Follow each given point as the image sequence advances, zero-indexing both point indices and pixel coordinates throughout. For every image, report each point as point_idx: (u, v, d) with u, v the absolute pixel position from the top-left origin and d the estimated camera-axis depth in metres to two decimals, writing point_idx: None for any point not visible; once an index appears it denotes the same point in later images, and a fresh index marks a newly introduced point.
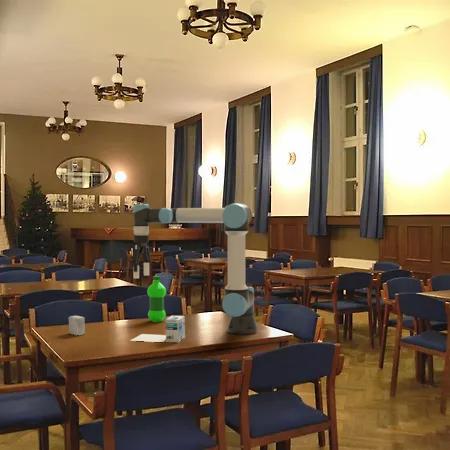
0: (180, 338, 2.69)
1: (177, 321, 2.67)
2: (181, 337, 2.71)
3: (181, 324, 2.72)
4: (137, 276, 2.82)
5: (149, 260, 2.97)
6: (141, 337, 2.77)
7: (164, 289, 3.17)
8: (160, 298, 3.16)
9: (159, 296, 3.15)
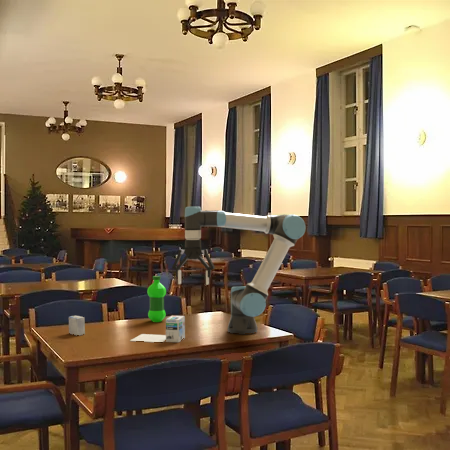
0: (180, 338, 2.69)
1: (177, 321, 2.67)
2: (181, 337, 2.71)
3: (181, 324, 2.72)
4: None
5: (209, 268, 2.68)
6: (141, 337, 2.77)
7: (164, 289, 3.17)
8: (160, 298, 3.16)
9: (159, 296, 3.15)
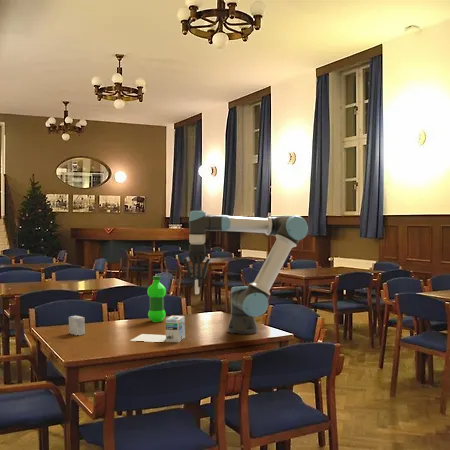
0: (180, 338, 2.69)
1: (177, 321, 2.67)
2: (181, 337, 2.71)
3: (181, 324, 2.72)
4: None
5: (200, 278, 2.68)
6: (141, 337, 2.77)
7: (164, 289, 3.17)
8: (160, 298, 3.16)
9: (159, 296, 3.15)
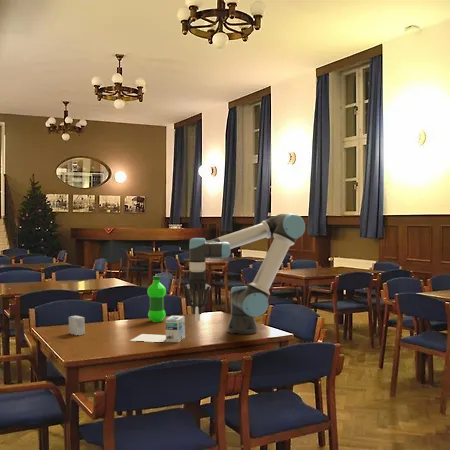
0: (180, 338, 2.69)
1: (177, 321, 2.67)
2: (181, 337, 2.71)
3: (181, 324, 2.72)
4: None
5: (200, 306, 2.68)
6: (141, 337, 2.77)
7: (164, 289, 3.17)
8: (160, 298, 3.16)
9: (159, 296, 3.15)
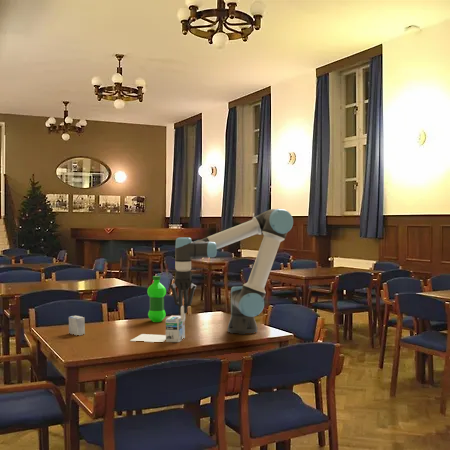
0: (180, 338, 2.69)
1: (177, 321, 2.67)
2: (181, 337, 2.71)
3: (181, 324, 2.72)
4: None
5: (186, 305, 2.70)
6: (141, 337, 2.77)
7: (164, 289, 3.17)
8: (160, 298, 3.16)
9: (159, 296, 3.15)
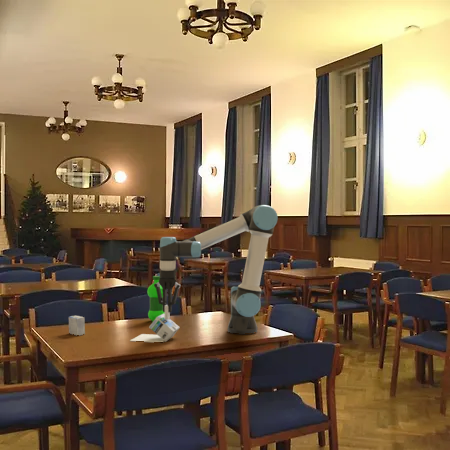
0: (173, 328, 2.70)
1: (157, 319, 2.69)
2: (173, 327, 2.71)
3: (164, 319, 2.73)
4: None
5: (170, 304, 2.71)
6: (141, 337, 2.77)
7: None
8: None
9: None
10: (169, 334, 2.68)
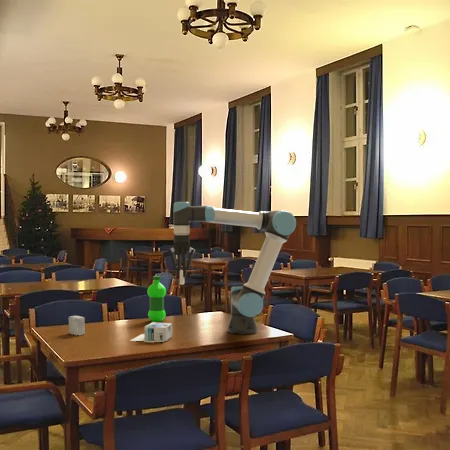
0: (164, 326, 2.71)
1: (146, 327, 2.70)
2: (165, 325, 2.72)
3: (153, 324, 2.75)
4: None
5: (184, 269, 2.70)
6: (141, 337, 2.77)
7: (164, 289, 3.17)
8: (160, 298, 3.16)
9: (159, 296, 3.15)
10: (164, 332, 2.68)
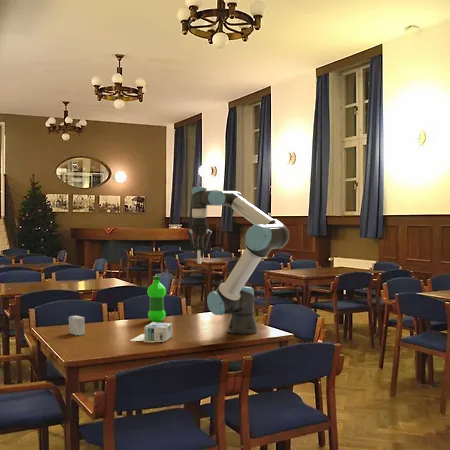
0: (164, 326, 2.71)
1: (146, 327, 2.70)
2: (165, 325, 2.72)
3: (153, 324, 2.75)
4: None
5: (202, 249, 2.92)
6: (141, 337, 2.77)
7: (164, 289, 3.17)
8: (160, 298, 3.16)
9: (159, 296, 3.15)
10: (164, 332, 2.68)
